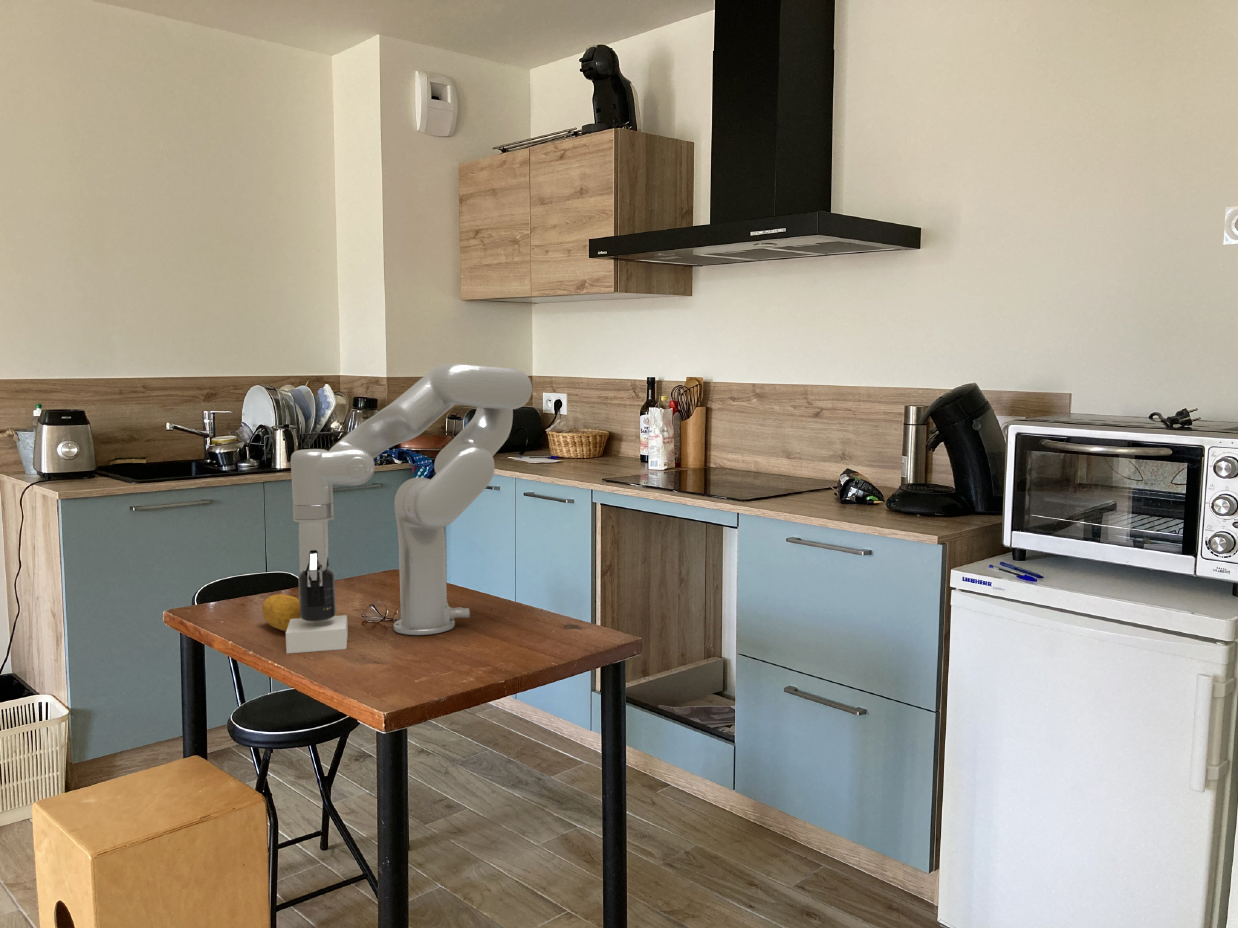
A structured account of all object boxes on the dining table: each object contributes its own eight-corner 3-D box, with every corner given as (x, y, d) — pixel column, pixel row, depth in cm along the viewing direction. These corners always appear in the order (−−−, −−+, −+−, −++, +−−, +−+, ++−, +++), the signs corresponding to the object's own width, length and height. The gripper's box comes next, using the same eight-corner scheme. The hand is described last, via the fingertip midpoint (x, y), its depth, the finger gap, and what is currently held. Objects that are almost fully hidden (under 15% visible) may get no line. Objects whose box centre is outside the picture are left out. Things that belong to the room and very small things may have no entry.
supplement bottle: (293, 618, 188) (290, 558, 187) (323, 611, 193) (320, 552, 192) (312, 623, 184) (310, 562, 183) (343, 616, 189) (340, 556, 188)
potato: (291, 619, 208) (290, 588, 207) (316, 633, 196) (315, 600, 196) (258, 625, 203) (256, 593, 203) (281, 640, 192) (279, 605, 191)
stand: (347, 634, 196) (347, 614, 195) (346, 648, 185) (345, 628, 185) (291, 638, 193) (290, 618, 193) (286, 653, 182) (285, 633, 182)
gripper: (296, 507, 194) (300, 593, 196) (289, 519, 177) (293, 613, 179) (335, 505, 196) (338, 590, 198) (331, 517, 179) (335, 610, 181)
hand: (317, 601), depth 188 cm, fingers closed on supplement bottle, 6 cm apart
